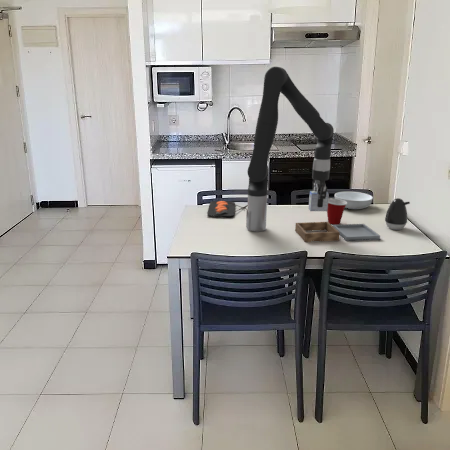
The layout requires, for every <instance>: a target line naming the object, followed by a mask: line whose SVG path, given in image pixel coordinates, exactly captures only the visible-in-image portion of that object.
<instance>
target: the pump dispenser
mask: <svg viewBox="0 0 450 450" xmlns="http://www.w3.org/2000/svg"><path fill="white" fill-rule="evenodd" d="M410 204H411V202H410V201H404V200H403V199H402V198H397V197H396V198H394V199H393V200H392V201H391V202H390V204H389V206H388V208H387V210H386V214H385V217H384V221H385V225H386V227H387V228H388V229H390V230H393V231H394V230H395V231H400V230H403V229H404V228H405V227H406V225H407V223H408V211H407V207H406V205H410Z"/></svg>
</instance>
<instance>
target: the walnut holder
mask: <svg viewBox="0 0 450 450" xmlns="http://www.w3.org/2000/svg"><path fill="white" fill-rule="evenodd" d="M294 226H295V227H294V231H295V232H296V234H297V235H298V236H299V237H300V238H301V239H302V241H304V243H312V242H311V241H319V242H335V241H336V242H337V241H338V242H339V241H340V232H339V231H338V230H337V229H335V228H334V227H333V225H331V224H330V223H329V222H328V221H312V222H311V221H310V222H306V221H305V222H295V225H294ZM312 230H320V231H318V232H317V231H316V232H313V231H312ZM321 231H322V232H321ZM323 231H324V232H323ZM327 231H328V232H327Z"/></svg>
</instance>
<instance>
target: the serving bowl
mask: <svg viewBox="0 0 450 450" xmlns="http://www.w3.org/2000/svg"><path fill="white" fill-rule="evenodd" d="M334 199H340V200H344V201H346V202H347V204H346V206H345V208H346V209H347V208H348V210H361V209H365V208H367V207H369V206H370V205H371V204H372V202H373V199H374V197H373V195H370V194H369V193H366V192H365V193H364V192H360V191H338V192H336V193H334ZM345 208H344V209H345Z"/></svg>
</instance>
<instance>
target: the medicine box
mask: <svg viewBox="0 0 450 450" xmlns="http://www.w3.org/2000/svg"><path fill="white" fill-rule="evenodd" d="M329 195H330V193H329V192H328V191H327V193H326V198H325V199H323V207H318V206H317V205H318V194H317V191H313V190H310V191H309V198H308V211H310V212H327V208H328V199H329V197H330V196H329Z"/></svg>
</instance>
